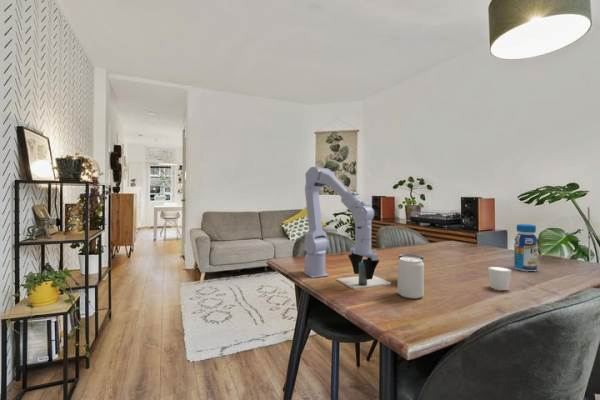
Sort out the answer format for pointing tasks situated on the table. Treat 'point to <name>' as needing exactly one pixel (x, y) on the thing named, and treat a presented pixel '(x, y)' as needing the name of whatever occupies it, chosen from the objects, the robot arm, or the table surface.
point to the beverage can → (411, 277)
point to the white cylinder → (499, 278)
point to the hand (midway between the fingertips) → (362, 276)
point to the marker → (362, 274)
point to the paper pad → (354, 284)
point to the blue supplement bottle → (525, 248)
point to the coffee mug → (411, 256)
